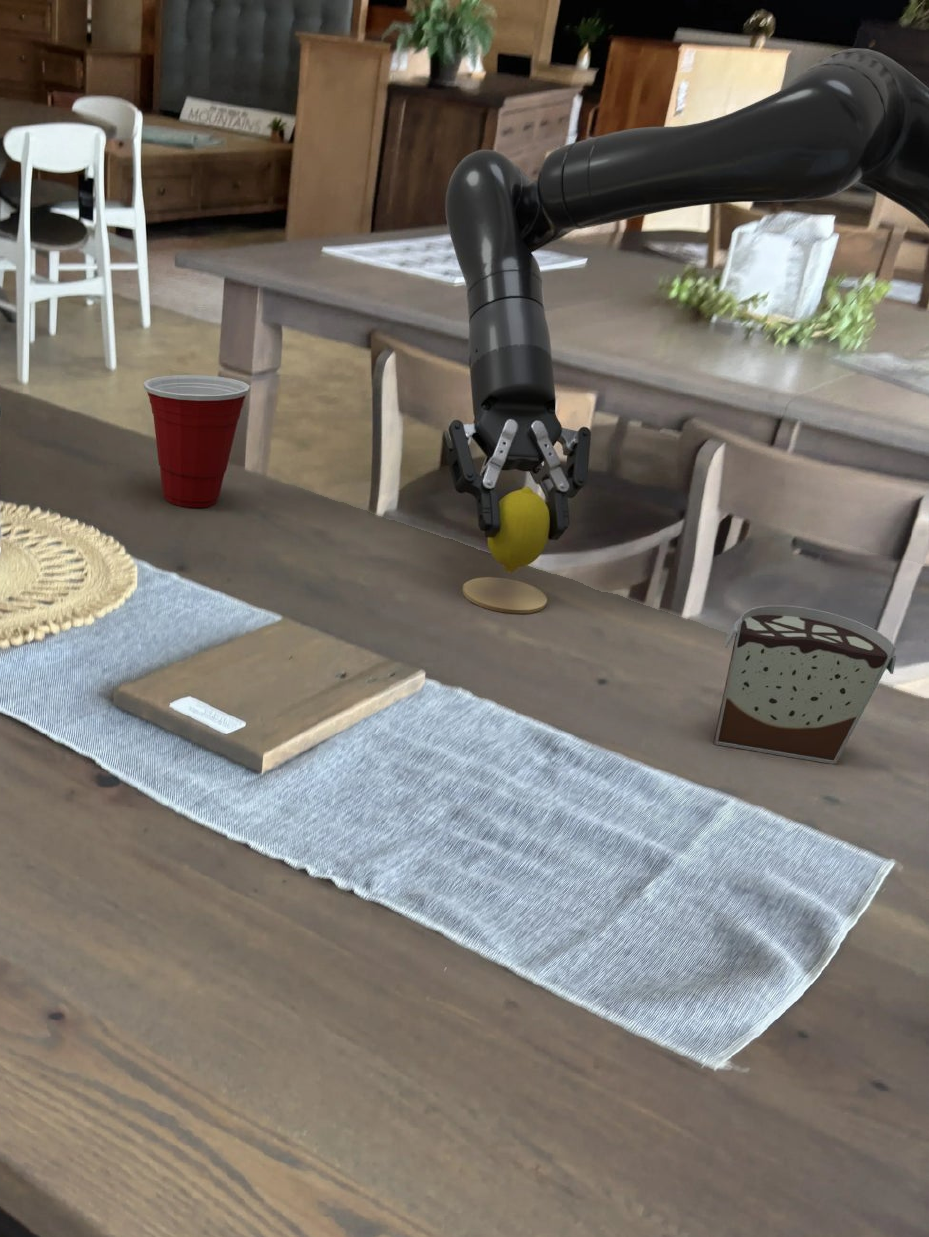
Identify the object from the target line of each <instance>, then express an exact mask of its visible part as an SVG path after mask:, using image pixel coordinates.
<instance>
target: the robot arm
mask: <svg viewBox="0 0 929 1237" xmlns="http://www.w3.org/2000/svg"><path fill="white" fill-rule="evenodd" d="M855 183H857V184H860V185H862V186H864V187H866V188H869V189H870V190H872V191H875V192H876V193H877V194H880V195H882V196H883V197H885V198H887V199H888V200H890V201H892V202H893V203H895V204H897V205H899V206H901V207H902V208H904V209H905V210H907V211H908V212H909V213H911V214H913V215H914V216H915V217H916V218H917V219H919V220H920V221H921V222H922V223H923V224H924V225H925V226H926V227H927V228H928V229H929V87H928V86H927V85H926V84H924V83H923V82H922V81H921V80H919V79H918V78H917V77H916V76H914V75H913V73H911V72H909V71H908V70H907V69H906V68H905V67H903V66H902V65H901V64H900V63H898V62H896V61H895V60H894V59H893V58H891V57H889V56H887V55H885V54H883V53H881V52H880V51H876V50H872V49H869V48H855V47H854V48H847V49H843V50H838V51H836V52H834V53H831V54H830V55H828V56H825V57H824V58H822V59H821V60H819V61H817V62H816V63H815V64H813V65H811V66H810V67H809V68H808V69H806V70H804V71H803V72H802V73H800V74H798V75H797V76H795V77H794V78H792V80H791V81H790V82H789V83H788V84H786V86H784V87H783V88H782V89H781V90H778V91H777V92H775V93H773V94H771V95H768V96H766V97H764V98H763V99H760V100H758V101H756V102H754V103H751V104H749V105H746V106H744V107H742V108H740V109H738V110H735V111H733V112H731V113H727V114H726V115H722V116H719V117H716V118H713V119H710V120H706V121H705V120H704V121H701V122H697V123H691V124H686V125H678V126H648V127H647V126H646V127H645V126H644V127H636V128H630V129H624V130H620V131H614V132H610V133H606V134H603V135H599V136H595V137H591V138H587V139H584V140H583V139H582V140H580V141H575V142H571V143H569V144H568V143H567V144H566V145H563V146H560V147H558V148H556V149H554V150H553V151H551V152H550V153H549V154H548V155H547V156H546V157H545V159H544V160H543V162H542V164H541V166H540V168H539V171H538V177H537V178H536V179H532V178H530V177H529V176H528V175H527V174H526V173H525V172H523V170H521V169H520V168H519V167H518V166H517V165H516V164H515V163H513V161H512V160H510V159H509V158H508V157H506V156H505V155H504V154H502V153H501V152H498V151H496V150H493V149H479V150H476V151H473V152H471V153H469V154H468V155H466V156H465V157H464V158H462V159H461V160H460V161H459V163H458V164H457V166H455V169H454V170H453V172H452V174H451V176H450V178H449V181H448V184H447V188H446V192H445V201H444V202H445V203H444V210H445V219H446V224H447V229H448V232H449V236H450V239H451V243H452V247H453V250H454V252H455V256H456V257H455V258H456V260H457V264H458V266H459V268H460V271H461V273H462V276H463V279H464V282H465V287H466V288H465V289H466V304H467V315H468V343H467V344H468V345H467V346H468V348H467V349H468V353H467V354H468V357H467V365H468V367H469V376H470V377H469V378H470V388H471V389H470V390H471V401H472V414H473V417H474V419H473V422H472V423H463V422H462V420H459V419H454V420H452V421H451V423H450V424H449V426H448V427H447V429H446V431H445V432H444V434H443V435H442V437H441V438H442V444H443V446H444V451H445V455H446V458H447V462H448V467H449V470H450V474H451V479H452V482H453V485H454V489H455V491H456V492H457V493H459V494H465V493H468V494H469V495H472V496H473V497H474V498H475V501H476V512H477V525H478V528H479V530H480V532H484V536H485V538H488V537H491V538H494V537H495V535H496V534H497V533H498V532H499V530H500V526H501V524H500V511H499V501H500V500H499V499H500V498H499V490H497V489H495V486H496V484H497V482H498V479H499V477H500V474H501V471H507V472H508V471H511V470H518V471H520V472H527V473H528V472H529V474H530V476H531V478H532V480H533V482H534V484H536V485H539V487H540V489H541V491H542V493H543V495H544V497H545V498H546V501H547V502H545V503H546V505H547V507H548V510H549V516H550V528H549V535H548V540H549V541H558V540H559V539H560V538H561V537H562V536H563V535H564V533H565V531H566V530H567V529H568V528H569V525H570V513H569V501H568V499H573V498H574V497H576V496H577V494H578V493H579V492H580V491H581V489H582V488H584V487H585V486H586V485H587V483H588V473H589V462H590V451H591V440H592V431H591V429H590V428H589V427H587V426H581V427H580V428H579V429H578V430H573V429H570V428H565V427H563V426H562V423H561V421H560V420H559V419H558V416H557V413H556V408H557V406H556V405H557V404H556V402H557V401H556V389H555V388H556V387H555V379H554V376H555V375H554V368H553V357H552V346H551V336H550V335H551V334H550V330H549V326H548V321H547V318H546V312H545V311H546V309H545V298H544V288H543V280H542V273H541V269H540V265H539V262H538V260H537V259H536V257H535V256H534V254H533V253H534V252H536V251H538V250H540V249H543V248H544V247H546V246H548V245H550V244H552V243H553V242H556V241H558V240H560V239H561V238H563V237H565V236H566V235H568V234H569V233H571V232H573V231H575V230H581V229H586V228H587V229H588V228H591V227H596V226H597V227H598V226H602V225H607V224H611V223H616V222H620V221H625V220H626V221H627V220H631V219H634V218H638V217H643V216H648V215H652V214H657V213H662V212H667V211H671V210H677V209H683V208H690V207H696V206H697V207H698V206H707V205H717V204H730V203H755V202H757V203H761V202H763V203H764V202H767V203H768V202H769V203H770V202H774V203H775V202H806V201H807V202H808V201H818V200H824V199H828V198H831V197H834V196H837V195H838V194H839V193H842V192H843V191H845V190H847V189H849V188H850V187H851V186H853V185H854V184H855ZM472 440H473V441H474V443H476V445H477V446H478V447H479V449H480V450H481V451H482V452H483V454H484V455H485V459H484V461H483V464H482V466H481V470H480V473H479V474H477V471H476V467H475V465H474V464H475V463H474V460H473V456H472V453H471V449H470V445H471V444H472ZM557 442H558V443H559V444H560V445H561V447H562V455H563V456H566V462H565V463H566V464H565V472H564V471H563V469H562V467H561V465H562V462H561V459H560V457H559V455H558V452H557V451H556V449H555V445H556V443H557Z"/></svg>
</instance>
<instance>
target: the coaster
mask: <svg viewBox="0 0 929 1237" xmlns="http://www.w3.org/2000/svg"><path fill="white" fill-rule="evenodd" d="M461 592H462V594H463V597H464V598H465V599H466V600H468V601H469V602H471V603H472V604H474V605H476V606H478V607H482V608H484V609H487V610H490V611H495V612H500V613H505V614H514V615H515V614H516V615H521V614H522V615H523V614H525V615H526V614H533V613H537V612H540V611H542V610H543V609H545V607H546V606H547V603H548V598H547V596H546V594H545V593H544V592H543V591H541V590H540V589H538V588H537V587H535V586H533V585H530V584H529V583H525V582H522V581H518V580H515V579H510V578H504V577H494V576H493V577H492V576H489V577H488V576H487V577H486V576H485V577H484V576H483V577H476V578H472V579H470V580H468V581H466V582H465V583H464V584H463V586H462V590H461Z"/></svg>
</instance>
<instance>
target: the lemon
mask: <svg viewBox="0 0 929 1237" xmlns="http://www.w3.org/2000/svg"><path fill="white" fill-rule="evenodd" d="M546 503H547V502H545V500H544V498H542V497H541V495H539V494H538V493H536V492H535V491H534V490H533V489H532V487H530V486H524V487H522V488H521V489H517V490H513V491H511V492H509V493H508V494H505V495H504V496H503V497H502V498H501V499H500V500H499V511H500V524H501V526H500V530H499V532H498V533H497V534H496V535H495V537H494V538H491V537H487V546H488V550H489V552H490V554H491V556H492V557H493V558H494V560H496V562H497V563H498V564H501V565H502V566H503V568H504V569H505V571H506V572H507V573H513V572H516V571H517V570H518V569H519V568H525V567H526V566H529V565H531V564H532V563H534V562H535V561H536V560H537V559H538V558H539V556H541V554H542V553H543V551H544V549H545V547H546V545H547V542H548V540H549V538H548V535H549V528H550V516H549V510H548V507H547V505H546Z"/></svg>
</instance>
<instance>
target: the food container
mask: <svg viewBox="0 0 929 1237" xmlns="http://www.w3.org/2000/svg"><path fill="white" fill-rule="evenodd" d="M733 639H734V641H733V647H732V652H731V655H730V661H729V666H728V670H727V675H726V680H725V685H724V689H723V694H722V698H721V703H720V709H719V713H718V718H717V722H716V726H715V727H716V728H715V733H714V737H713V744H714V745H716V746H723V747H728V748H733V749H740V750H746V751H751V752H752V751H753V752H758V753H764V754H771V755H775V756H783V757H788V758H794V759H800V760H806V761H813V762H819V763H824V764H831V765H837V763H838V761H839V759H840V757H841V755H842V753H843V751H844V750H845V748H846V746H847V744H848V742H849V740H850V739H851V738H850V737H851V736H852V734H853V732H854V730H855V729H856V726H857V724H858V722H859V721H860V719H861V717H862V715H863V713H864V711H865V709H866V708H867V706H868V704H869V702H870V701H871V700H870V699H871V698H872V696H873V694H874V693H875V690H876V688H877V686H878V684H879V683H880V681H881V679H882V677H883V675H884V673H885V671H886V670H887V671H888V673H889V674H890V675H894V672H895V665H896V659H897V655H896V654H895V651H896V646H895V644H894V643H893V642H892V640H891V639H889V638H888V637H887V636H885V635H884V634H883V633H882V632H880V631H878V630H876V629H875V628H872V627H870V626H868V625H866V624H864V623H861V622H859V621H857V620H855V619H852V618H848V617H846V616H843V615H840V614H836V613H832V612H828V611H824V610H820V609H816V608H809V607H803V606H795V605H786V604H785V605H784V604H783V605H782V604H781V605H780V604H777V605H776V604H771V605H762V606H756V607H753V608H750V609H748V610H745V611H744V612H743V613H742V614H741V616H740V617H739V618H738V619H737V620H736V621H735V623H734V624H733V625H732V628H731V630H730V631H729V633H728V635H727V636H726V638H725V641H724V648H728V647H729V646H730V644H731V642H732V640H733Z"/></svg>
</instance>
